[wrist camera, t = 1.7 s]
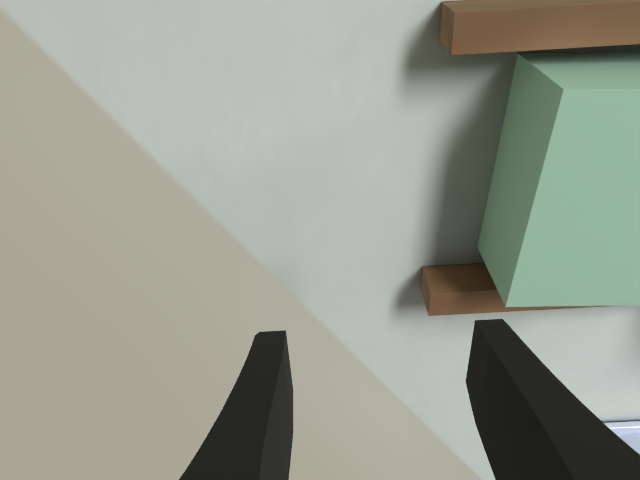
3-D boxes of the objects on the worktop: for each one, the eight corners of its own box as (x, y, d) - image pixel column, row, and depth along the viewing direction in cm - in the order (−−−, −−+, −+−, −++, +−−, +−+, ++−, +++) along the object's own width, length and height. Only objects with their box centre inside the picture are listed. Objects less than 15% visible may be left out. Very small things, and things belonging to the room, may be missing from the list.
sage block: (591, 243, 22) (641, 305, 19) (475, 244, 22) (505, 306, 19) (660, 51, 18) (741, 88, 14) (515, 51, 18) (563, 89, 14)
